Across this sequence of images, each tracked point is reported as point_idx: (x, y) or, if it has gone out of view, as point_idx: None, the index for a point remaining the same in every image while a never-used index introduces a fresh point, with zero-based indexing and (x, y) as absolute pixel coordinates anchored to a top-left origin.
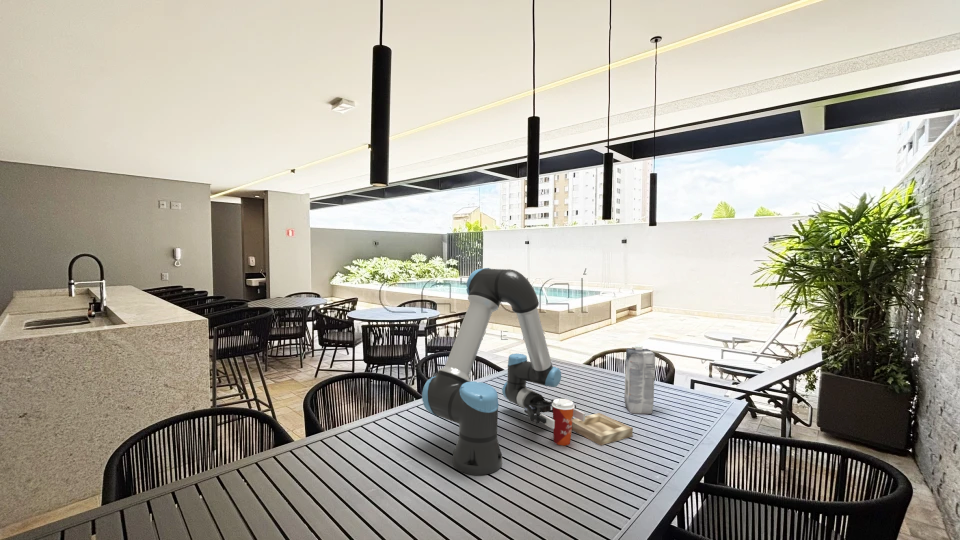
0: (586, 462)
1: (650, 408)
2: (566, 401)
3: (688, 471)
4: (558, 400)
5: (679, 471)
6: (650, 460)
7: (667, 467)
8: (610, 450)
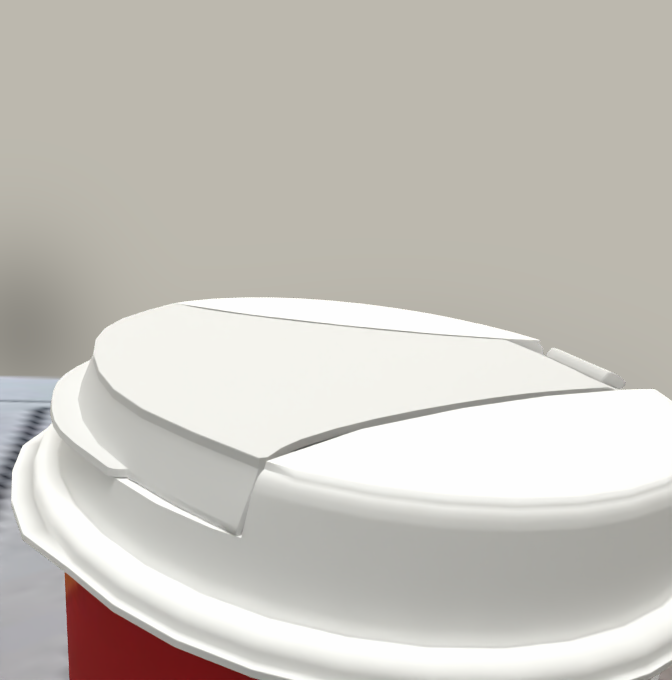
0: None
1: None
2: (281, 339)
3: (22, 386)
4: (450, 423)
5: (49, 397)
6: (12, 456)
7: (43, 417)
8: (26, 604)
